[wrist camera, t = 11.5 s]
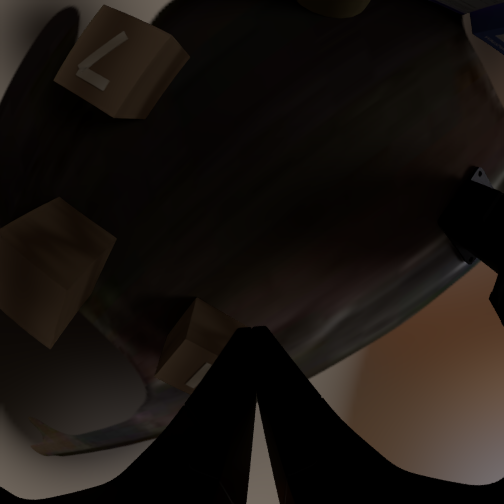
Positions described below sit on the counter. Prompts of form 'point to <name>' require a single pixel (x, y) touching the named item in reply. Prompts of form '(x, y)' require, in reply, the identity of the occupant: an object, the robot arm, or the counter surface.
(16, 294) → the plain walnut block
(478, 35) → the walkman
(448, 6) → the supplement box
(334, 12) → the cork
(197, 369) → the walnut cube
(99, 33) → the walnut cube
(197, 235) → the counter surface
